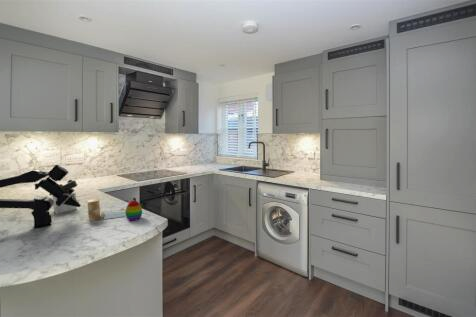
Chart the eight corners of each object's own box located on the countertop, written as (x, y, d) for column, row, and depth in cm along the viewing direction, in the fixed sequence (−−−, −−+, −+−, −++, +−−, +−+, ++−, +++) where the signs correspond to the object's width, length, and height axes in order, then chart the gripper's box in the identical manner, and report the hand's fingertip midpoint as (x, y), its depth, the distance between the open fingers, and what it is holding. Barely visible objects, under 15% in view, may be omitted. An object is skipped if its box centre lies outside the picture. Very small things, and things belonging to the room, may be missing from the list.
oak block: (88, 220, 132) (87, 202, 131) (90, 217, 137) (88, 199, 136) (99, 219, 134) (98, 201, 133) (100, 216, 139) (99, 198, 138)
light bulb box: (73, 207, 158) (72, 190, 157) (77, 209, 154) (76, 192, 153) (53, 211, 150) (51, 194, 149) (56, 213, 146) (55, 195, 145)
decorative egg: (123, 219, 133) (122, 201, 132) (137, 215, 139) (136, 198, 138) (130, 222, 128) (129, 203, 127) (145, 218, 134) (144, 200, 133)
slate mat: (100, 220, 132) (100, 217, 132) (101, 215, 141) (101, 212, 141) (126, 216, 138) (125, 213, 138) (125, 211, 147) (125, 209, 147)
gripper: (61, 178, 120) (89, 198, 126) (68, 173, 137) (93, 191, 143) (42, 196, 117) (72, 215, 123) (52, 189, 134) (78, 206, 140)
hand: (80, 206), depth 132 cm, fingers closed
